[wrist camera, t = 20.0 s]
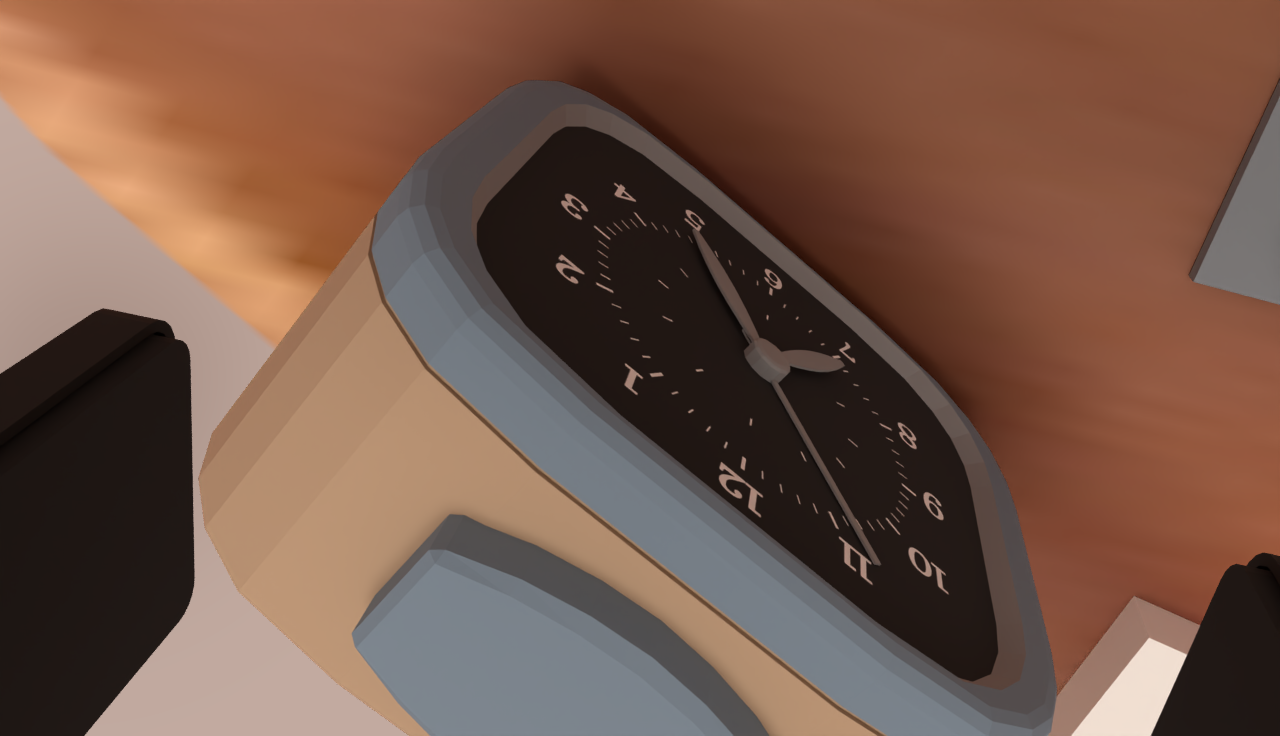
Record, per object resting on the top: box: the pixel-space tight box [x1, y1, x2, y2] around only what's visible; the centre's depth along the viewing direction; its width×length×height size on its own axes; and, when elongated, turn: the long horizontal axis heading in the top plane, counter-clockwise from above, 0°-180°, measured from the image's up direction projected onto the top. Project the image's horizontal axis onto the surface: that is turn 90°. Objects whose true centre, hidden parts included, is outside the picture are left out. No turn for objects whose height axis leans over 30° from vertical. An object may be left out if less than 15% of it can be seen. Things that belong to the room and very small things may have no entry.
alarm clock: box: [198, 80, 1057, 736], centre depth 34 cm, size 21×10×22 cm, turn 50°
